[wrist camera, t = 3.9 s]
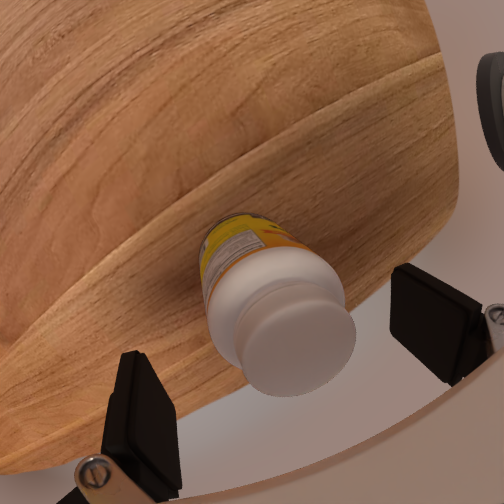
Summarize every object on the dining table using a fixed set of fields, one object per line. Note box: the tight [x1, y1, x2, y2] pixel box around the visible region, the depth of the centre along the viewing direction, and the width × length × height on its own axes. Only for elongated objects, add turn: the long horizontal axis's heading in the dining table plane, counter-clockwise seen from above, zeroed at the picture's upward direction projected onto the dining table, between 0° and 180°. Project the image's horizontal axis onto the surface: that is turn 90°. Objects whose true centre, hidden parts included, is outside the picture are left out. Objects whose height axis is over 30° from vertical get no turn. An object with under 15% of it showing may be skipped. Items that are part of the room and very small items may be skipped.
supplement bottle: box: [199, 213, 356, 397], centre depth 14 cm, size 6×6×10 cm
